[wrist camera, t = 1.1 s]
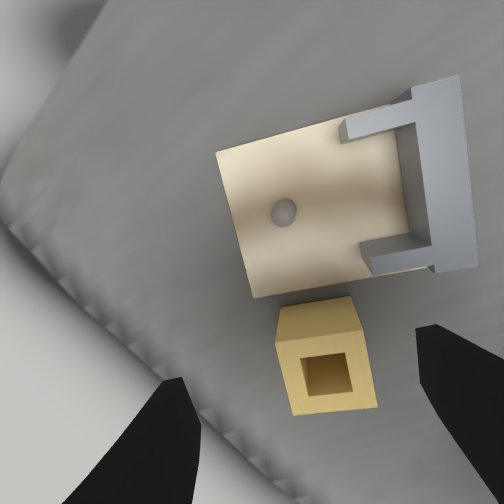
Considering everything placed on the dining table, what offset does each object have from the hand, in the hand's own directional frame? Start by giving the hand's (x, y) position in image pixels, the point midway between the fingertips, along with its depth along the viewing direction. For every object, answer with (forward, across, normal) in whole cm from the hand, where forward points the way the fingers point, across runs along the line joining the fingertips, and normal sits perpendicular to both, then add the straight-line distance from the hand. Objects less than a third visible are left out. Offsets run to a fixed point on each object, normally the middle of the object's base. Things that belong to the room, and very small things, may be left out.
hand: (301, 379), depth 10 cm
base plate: (+13, -4, -2) cm, 14 cm away
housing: (+11, -8, -2) cm, 14 cm away
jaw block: (+12, -2, +7) cm, 14 cm away
